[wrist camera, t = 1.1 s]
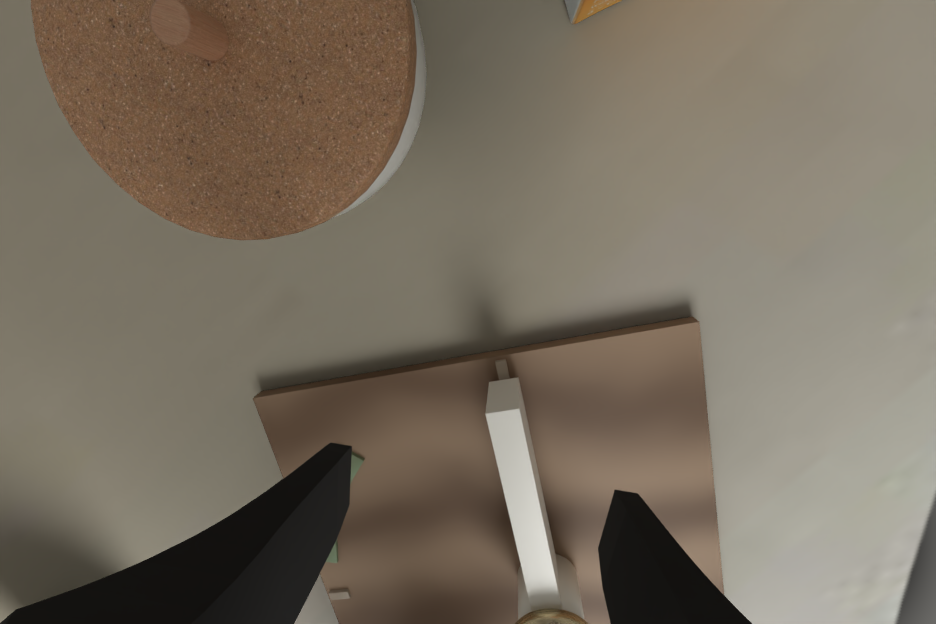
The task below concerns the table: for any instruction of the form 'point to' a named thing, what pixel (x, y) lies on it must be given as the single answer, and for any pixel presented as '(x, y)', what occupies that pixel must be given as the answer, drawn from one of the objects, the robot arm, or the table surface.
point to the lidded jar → (239, 103)
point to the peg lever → (529, 515)
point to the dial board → (477, 476)
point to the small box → (586, 8)
